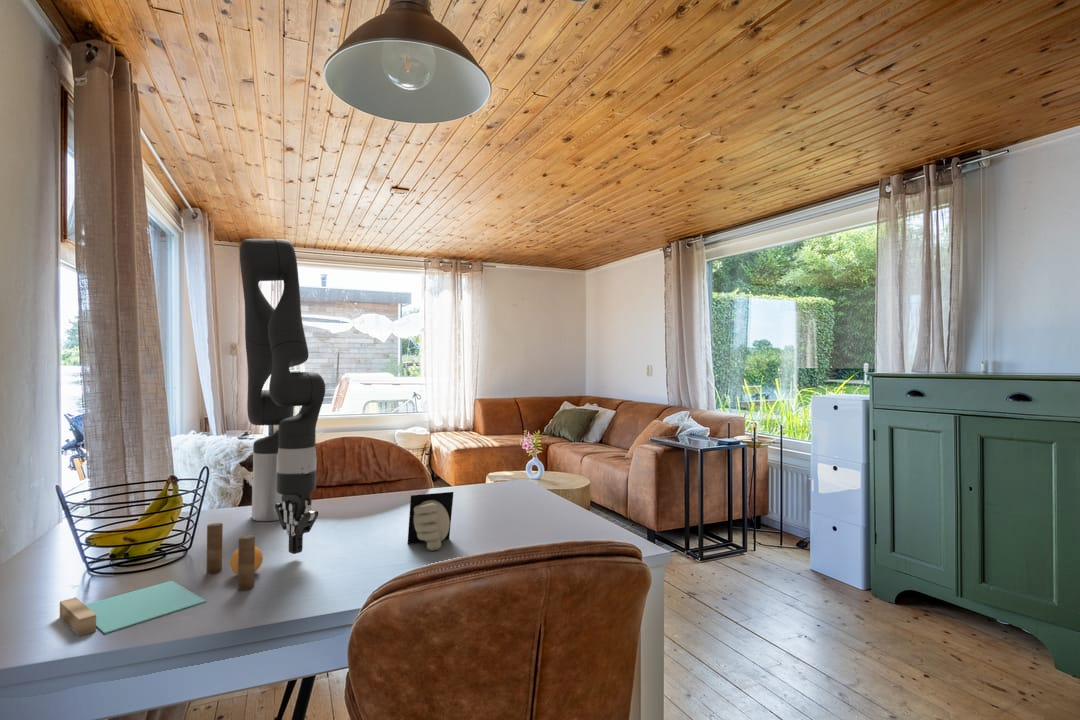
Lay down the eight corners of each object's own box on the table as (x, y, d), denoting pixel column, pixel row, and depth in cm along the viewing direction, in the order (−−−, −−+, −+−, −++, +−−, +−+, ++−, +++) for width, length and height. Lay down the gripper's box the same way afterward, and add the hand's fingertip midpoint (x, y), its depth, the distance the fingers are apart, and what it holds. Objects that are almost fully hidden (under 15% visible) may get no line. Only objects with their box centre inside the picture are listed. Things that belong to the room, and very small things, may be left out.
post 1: (204, 571, 107) (204, 525, 107) (218, 567, 109) (218, 522, 109) (210, 574, 105) (210, 527, 105) (224, 570, 107) (225, 524, 107)
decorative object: (456, 557, 122) (413, 563, 118) (446, 532, 131) (405, 537, 127) (461, 508, 119) (416, 512, 115) (450, 486, 128) (408, 489, 124)
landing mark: (75, 608, 90) (75, 607, 90) (172, 581, 102) (172, 580, 102) (104, 634, 82) (104, 632, 82) (205, 601, 94) (205, 600, 94)
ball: (235, 539, 107) (260, 548, 110) (219, 567, 104) (245, 576, 108) (247, 543, 103) (273, 552, 107) (231, 573, 101) (258, 581, 104)
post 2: (235, 588, 99) (235, 538, 99) (249, 583, 101) (250, 534, 101) (242, 591, 98) (242, 541, 98) (256, 587, 100) (257, 537, 100)
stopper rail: (59, 617, 87) (59, 601, 87) (75, 612, 89) (75, 597, 89) (79, 636, 81) (79, 619, 81) (96, 631, 83) (96, 614, 83)
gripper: (262, 467, 115) (261, 550, 115) (297, 475, 107) (295, 565, 107) (296, 462, 121) (295, 541, 121) (331, 469, 113) (330, 554, 113)
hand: (295, 552), depth 114 cm, fingers closed
